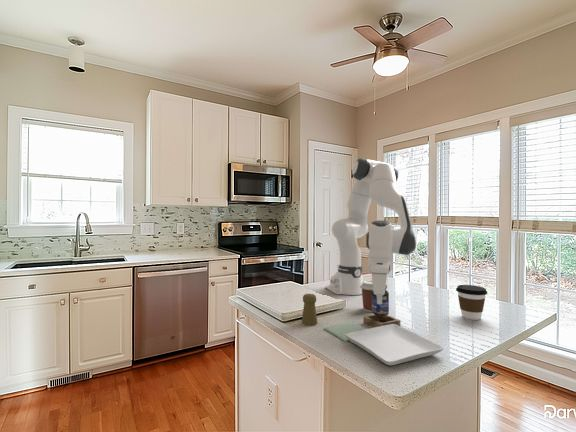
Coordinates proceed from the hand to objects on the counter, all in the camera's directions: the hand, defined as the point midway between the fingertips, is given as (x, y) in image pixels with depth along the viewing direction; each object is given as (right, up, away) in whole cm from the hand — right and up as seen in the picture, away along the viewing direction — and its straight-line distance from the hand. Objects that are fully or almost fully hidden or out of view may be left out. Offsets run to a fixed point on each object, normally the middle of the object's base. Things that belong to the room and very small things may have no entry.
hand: (379, 300), depth 117 cm
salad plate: (-2, -10, -21) cm, 23 cm away
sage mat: (-13, -9, -7) cm, 17 cm away
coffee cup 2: (+39, -9, +8) cm, 41 cm away
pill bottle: (0, -5, 0) cm, 5 cm away
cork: (-26, -9, +2) cm, 28 cm away
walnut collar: (+1, -9, 0) cm, 9 cm away
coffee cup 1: (+1, -9, +18) cm, 20 cm away
